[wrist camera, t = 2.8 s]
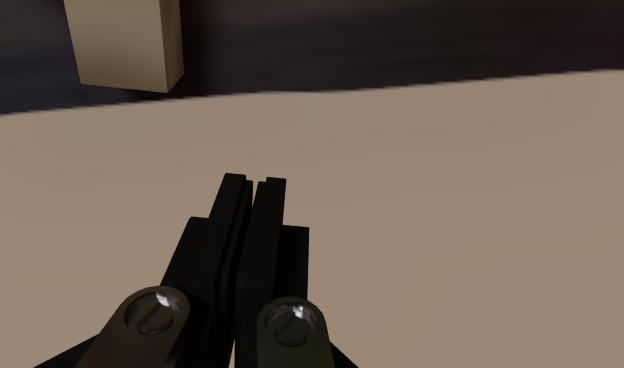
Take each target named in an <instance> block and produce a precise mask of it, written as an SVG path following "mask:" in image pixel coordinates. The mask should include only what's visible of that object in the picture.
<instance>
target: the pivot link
mask: <svg viewBox="0 0 624 368" xmlns="http://www.w3.org/2000/svg"><path fill="white" fill-rule="evenodd" d="M64 5H65V9H66V14H67V19H68V24H69V28H70V33H71V38H72V43H73V47H74V52H75V57H76V62H77V66H78V71H79V76H80V80H81V84H89V85H98V86H108V87H117V88H126V89H136V90H145V91H155V92H164V93H168V92H169V91H170V89H171V88H172V87H173V86H174V85H175V84H176V82H177V81H178V80H179V79H180V78H181V77H182V75H183V74H184V64H183V49H182V34H181V19H180V5H179V0H64Z"/></svg>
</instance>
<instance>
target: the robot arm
mask: <svg viewBox="0 0 624 368" xmlns="http://www.w3.org/2000/svg"><path fill="white" fill-rule="evenodd" d="M285 188H286V179H284V178H274V177H267V179H266V182H261V181H259V182H258V186H257V190H256V195H255V199H254V203H253V207H252V200H253V181H251V180H246V175H242V174H232V173H225V175H224V178H223V180H222V183H221V186H220V188H219V191H218V194H217V196H216V199H215V202H214V204H213V207H212V210H211V212H210V215H209V218H201V217H190V219H189V220H188V222H187V225H186V227H185V229H184V232H183V234H182V236H181V238H180V240H179V243H178V245H177V247H176V250H175V252H174V254H173V256H172V259H171V261H170V263H169V266H168V268H167V270H166V272H165V274H164V277H163V279H162V281H161V284H160V286H153V287H147V288H145V289H142V290H139V291H137V292H135V293H134V294H132V295H130V296H129V297H127V298H126V299H125V301H124V302H123V303H122V304H121V305H120V306H119V307H118V309H117V310H116V311H115V313H114V314H113V315H112V317H111V318H110V320H109V321H108V322H107V324H106V325H105V326H104V328H103V329H102V331H101V332H100V333H99V334H97V335H95V336H94V337H92V338H90V339H88V340H86V341H84V342H82V343H80V344H78V345H77V346H74V347H72V348H70V349H69V350H66V351H65V352H63V353H61V354H59V355H57V356H55V357H53V358H51V359H49V360H47V361H45V362H43V363H41V364H39V365H38V366H36V367H34V368H228V367H229V363H230V359H231V353H232V349H233V344H234V339H235V364H234V365H235V367H234V368H358V367H357V366H356V365H355V364H354V363H353V362H352V361H351V360H350V359H349V358H348V357H346V356H345V355H344V354H343V353H342V352H341V351H340V350H339V349H338V348H337V347H335V346H334V345H333V344H332V343H331V342H330V340H329V335H328V330H327V326H326V321H325V319H324V316H323V313H322V312H321V311H320V310H319V309H318V307H317V306H316V305H314V304H313V303H311V302H310V301H308V300H307V291H308V257H309V227H301V226H289V225H283V213H284V201H285Z"/></svg>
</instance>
